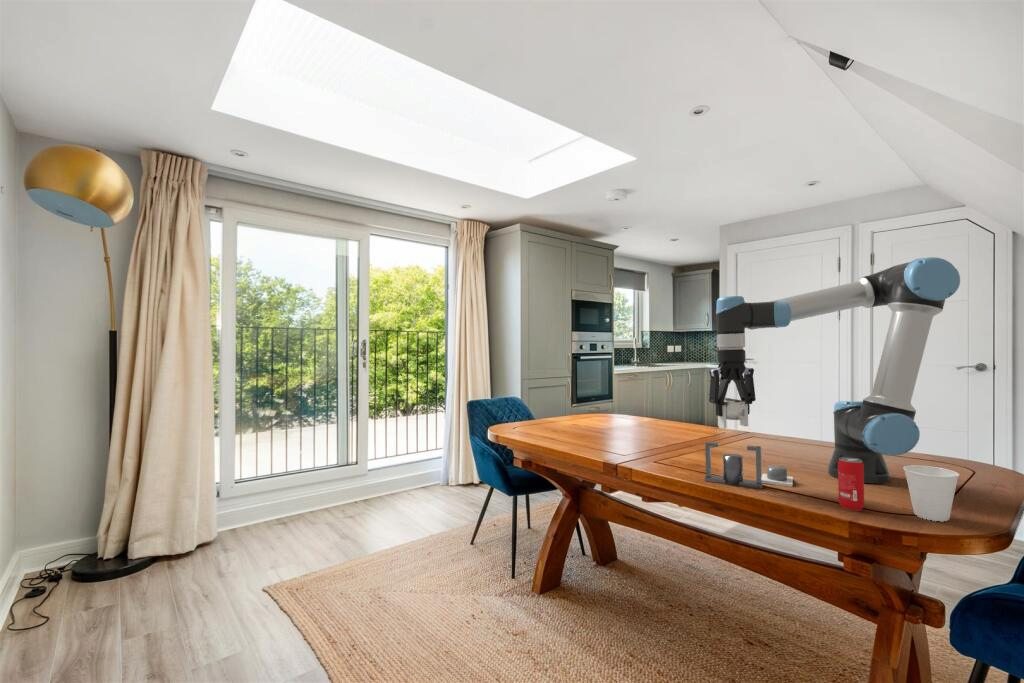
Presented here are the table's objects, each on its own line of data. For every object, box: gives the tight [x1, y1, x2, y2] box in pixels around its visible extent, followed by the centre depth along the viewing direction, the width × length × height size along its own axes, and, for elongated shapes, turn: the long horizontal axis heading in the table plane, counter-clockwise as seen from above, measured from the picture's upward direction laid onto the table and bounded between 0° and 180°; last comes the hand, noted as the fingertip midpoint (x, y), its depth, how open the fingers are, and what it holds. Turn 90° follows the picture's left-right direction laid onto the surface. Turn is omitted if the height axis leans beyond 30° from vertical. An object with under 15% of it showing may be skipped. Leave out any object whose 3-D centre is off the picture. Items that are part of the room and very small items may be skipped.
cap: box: [723, 397, 749, 422], centre depth 138 cm, size 11×7×6 cm, turn 13°
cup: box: [902, 464, 960, 523], centre depth 110 cm, size 10×10×11 cm
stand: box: [762, 465, 794, 488], centre depth 139 cm, size 8×8×4 cm
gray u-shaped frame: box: [704, 441, 764, 489], centre depth 138 cm, size 15×5×11 cm, turn 58°
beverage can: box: [837, 457, 865, 512], centre depth 117 cm, size 5×5×12 cm
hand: (733, 426), depth 138 cm, fingers closed on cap, 7 cm apart
